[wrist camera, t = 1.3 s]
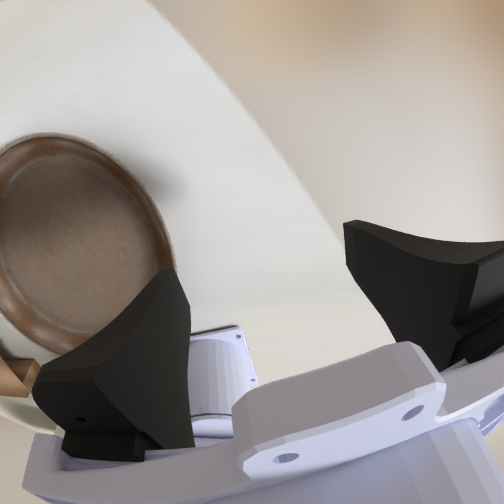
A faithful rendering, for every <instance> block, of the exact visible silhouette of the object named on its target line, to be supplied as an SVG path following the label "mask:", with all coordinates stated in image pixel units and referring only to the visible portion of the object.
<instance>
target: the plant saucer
mask: <svg viewBox="0 0 504 504" xmlns="http://www.w3.org/2000/svg"><path fill="white" fill-rule="evenodd" d="M172 267H174V269H175V272H176V274H177V266H176V259H175V254H174V249H173V245H172V241H171V238H170V235H169V232H168V230H167V227H166V225H165V222H164V220H163V218H162V216H161V214H160V212H159V210H158V208H157V206H156V205H155V203H154V201H153V199H152V198H151V196H150V195H149V193H148V192H147V191H146V189H145V188H144V186H143V185H142V184H141V182H140V181H139V180H138V179H137V178H136V177H135V175H134V174H133V173H132V172H131V171H130V170H129V169H128V168H127V167H126V166H125V165H124V164H123V163H122V162H120V161H119V160H118V159H117V158H115V157H114V156H113V155H112V154H110V153H109V152H107V151H106V150H104V149H103V148H101V147H99V146H97V145H95V144H94V143H91V142H89V141H87V140H85V139H82V138H79V137H76V136H73V135H69V134H62V133H39V134H33V135H29V136H26V137H23V138H21V139H18V140H16V141H14V142H13V143H11V144H9V145H8V146H7V147H5V148H4V149H3V150H1V151H0V312H1V314H2V315H3V316H4V317H5V318H6V319H7V320H8V322H9V323H10V324H11V325H12V326H13V327H14V328H15V329H17V330H18V331H19V332H20V333H21V334H22V335H24V336H25V337H26V338H27V339H29V340H30V341H32V342H33V343H35V344H36V345H38V346H39V347H41V348H43V349H45V350H47V351H48V352H51V353H53V354H55V355H58V356H62V355H64V354H66V353H68V352H70V351H71V350H73V349H75V348H76V347H78V346H79V345H81V344H82V343H84V342H86V341H87V340H88V339H90V338H91V337H92V336H94V335H95V334H96V333H98V332H99V331H100V330H102V329H103V328H104V327H105V326H107V325H108V324H109V323H110V322H111V321H112V320H114V319H115V318H116V317H117V316H118V315H119V314H120V313H121V312H122V311H123V310H124V309H125V308H126V307H127V306H128V305H129V304H130V303H131V301H132V300H133V299H134V298H135V297H136V296H137V295H138V294H139V293H140V292H141V290H142V289H143V288H144V287H145V286H146V285H147V284H148V283H149V281H150V280H151V279H152V278H153V277H154V276H155V275H156V274H157V273H158V272H159V271H161V270H165V269H169V268H172Z"/></svg>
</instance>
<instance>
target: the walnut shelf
mask: <svg viewBox="0 0 504 504" xmlns="http://www.w3.org/2000/svg"><path fill="white" fill-rule="evenodd" d="M40 368H41V367H40V366H39V365H38V363H37V362H36V361H35V359H26V360H6V361H4V360H3V359H2V358H1V356H0V395H2V396H12V397H24V398H27V397H28V395H29V393H30V390H31V388H32V385H33V383H34V381H35V379H36V376H37V374H38V372H39V370H40Z"/></svg>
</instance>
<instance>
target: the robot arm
mask: <svg viewBox="0 0 504 504" xmlns="http://www.w3.org/2000/svg"><path fill="white" fill-rule="evenodd" d="M343 228H344V240H345V254H346V265H347V267H348V269H349V271H350V273H351V274H352V276H353V278H354V280H355V281H356V283H357V284H358V286H359V287H360V288H361V290H362V291H363V292H364V294H365V295H366V296H367V298H368V299H369V300H370V302H371V303H372V304H373V305H374V307H375V308H376V310H377V311H378V312H379V314H380V315H381V316H382V318H383V319H384V321H385V322H386V324H387V326H388V328H389V329H390V331H391V333H392V335H393V337H394V339H395V341H396V343H395V344H390V345H385V346H382V347H379V348H377V349H374V350H372V351H369V352H366V353H364V354H361V355H358V356H355V357H352V358H349V359H347V360H344V361H341V362H338V363H335V364H332V365H328V366H325V367H322V368H319V369H316V370H312V371H309V372H305V373H302V374H298V375H295V376H291V377H287V378H284V379H280V380H276V381H272V382H269V383H267V384H265V385H262V386H260V387H257V386H258V385H259V382H258V379H257V376H256V373H255V370H254V366H253V363H252V360H251V357H250V354H249V351H248V347H247V344H246V341H245V338H244V334H243V331H242V329H241V328H240V327H232V328H228V329H223V330H218V331H214V332H209V333H204V334H199V335H194V336H190V333H191V314H190V305H189V303H188V300H187V298H186V296H185V293H184V291H183V289H182V286H181V284H180V281H179V279H178V277H177V274H176V272H175V269H174V267H172V268H169V269H165V270H161V271H159V272H158V273H157V274H156V275H155V276H154V277H153V278H152V279H151V280H150V281H149V283H148V284H147V285H146V286H145V287H144V288H143V289H142V290H141V292H140V293H139V294H138V295H137V296H136V297H135V298H134V299H133V300H132V301H131V303H130V304H129V305H128V306H127V307H126V308H125V309H124V310H123V311H122V312H121V313H120V314H119V315H118V316H117V317H116V318H115V319H114V320H112V321H111V322H110V323H109V324H108V325H107V326H105V327H104V328H103V329H102V330H100V331H99V332H98V333H96V334H95V335H94V336H92V337H91V338H90V339H88V340H87V341H86V342H84V343H82V344H81V345H79V346H78V347H76V348H75V349H73V350H71V351H70V352H68V353H66V354H64V355H62V356H60V357H58V358H56V359H54V360H52V361H50V362H48V363H46V364H44V365H42V367H41V369H40V371H39V373H38V375H37V378H36V380H35V382H34V385H33V387H32V391H31V392H32V396H33V399H34V401H35V402H36V404H37V405H38V407H39V408H40V409H41V410H42V411H43V412H44V413H45V414H46V415H47V416H48V417H49V418H50V419H52V420H53V421H54V422H55V423H56V424H57V425H58V426H60V427H61V428H62V429H63V430H64V431H65V435H64V438H61V437H59V436H56V435H50V434H42V433H36V434H35V436H34V440H33V443H32V447H31V450H30V454H29V458H28V462H27V466H26V470H25V474H24V479H23V483H22V487H23V489H25V490H26V491H28V492H30V493H31V494H33V495H35V496H37V497H39V498H41V499H42V500H44V501H46V502H48V503H50V504H504V472H503V470H502V469H501V467H500V465H499V463H498V461H497V459H496V457H495V456H494V454H493V452H492V450H491V448H490V447H489V445H488V443H487V442H486V440H485V438H484V437H485V436H486V435H487V434H489V433H490V432H491V431H492V430H493V429H495V428H496V427H497V426H498V425H499V424H500V423H502V422H503V421H504V241H494V242H472V243H471V242H468V243H467V242H451V241H442V240H434V239H429V238H423V237H419V236H414V235H410V234H406V233H403V232H399V231H396V230H392V229H389V228H386V227H382V226H379V225H376V224H372V223H369V222H365V221H361V220H353V221H349V222H346V223H343ZM236 335H240V336H236ZM255 387H257V388H255ZM251 388H255V389H252V390H251Z"/></svg>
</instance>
